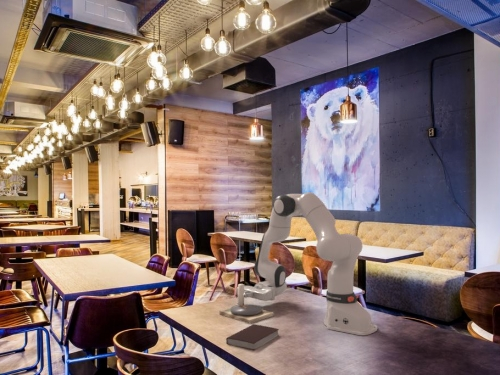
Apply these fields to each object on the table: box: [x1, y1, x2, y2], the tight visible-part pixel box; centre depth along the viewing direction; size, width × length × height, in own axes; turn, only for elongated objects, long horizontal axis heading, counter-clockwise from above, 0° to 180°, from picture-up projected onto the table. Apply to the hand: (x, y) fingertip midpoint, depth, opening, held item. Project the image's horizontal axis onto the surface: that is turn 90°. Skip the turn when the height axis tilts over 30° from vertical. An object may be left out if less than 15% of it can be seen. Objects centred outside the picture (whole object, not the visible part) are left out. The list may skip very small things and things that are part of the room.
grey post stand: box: [230, 283, 263, 315], centre depth 183 cm, size 17×15×11 cm
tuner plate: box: [219, 307, 274, 324], centre depth 181 cm, size 20×16×2 cm
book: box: [225, 323, 280, 351], centre depth 150 cm, size 12×19×3 cm, turn 148°
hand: (242, 295), depth 188 cm, fingers closed, pressing on grey post stand
